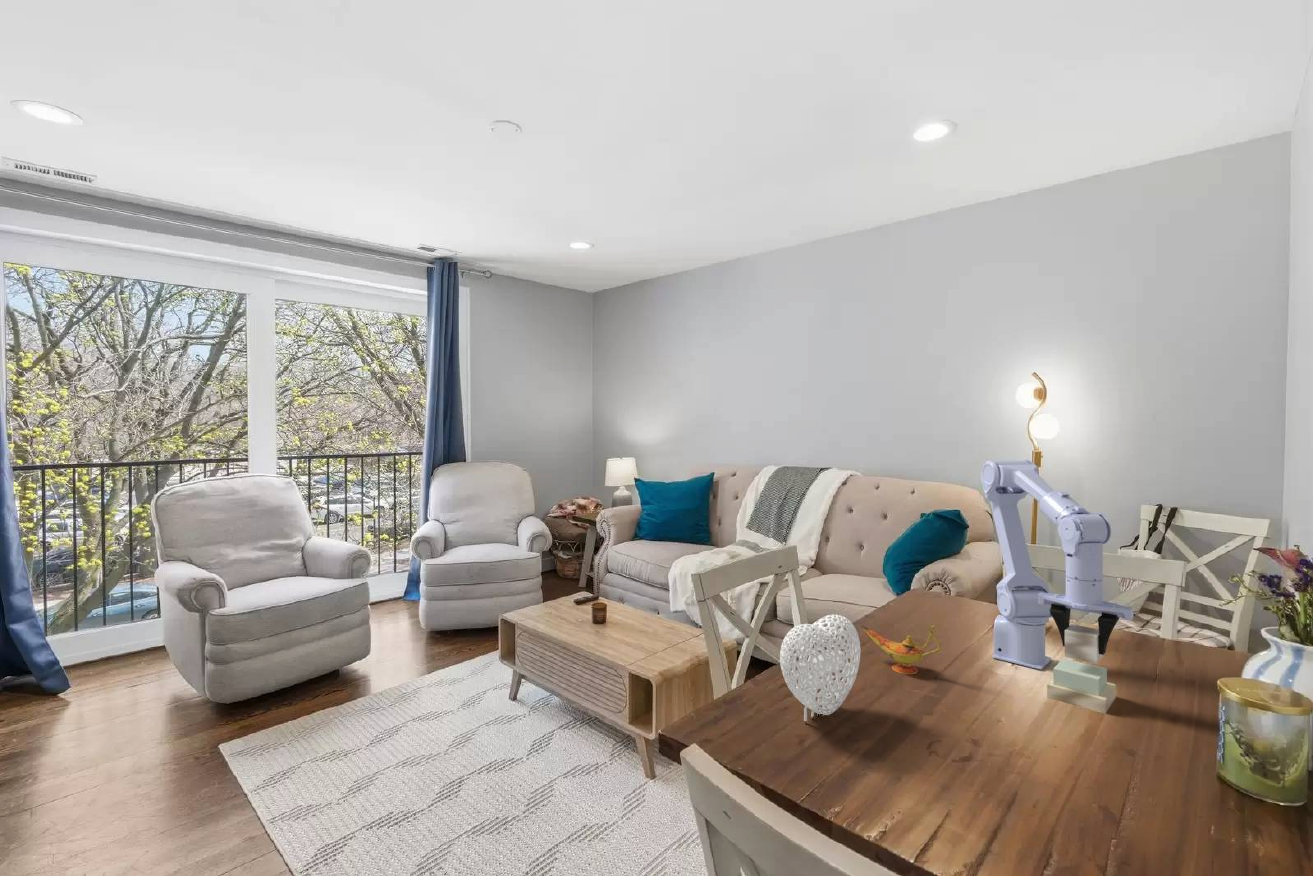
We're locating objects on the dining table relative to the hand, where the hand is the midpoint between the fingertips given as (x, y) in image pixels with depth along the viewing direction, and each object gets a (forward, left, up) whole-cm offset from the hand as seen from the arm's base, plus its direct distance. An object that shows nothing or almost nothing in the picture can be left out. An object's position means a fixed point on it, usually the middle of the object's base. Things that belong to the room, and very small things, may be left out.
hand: (1083, 649), depth 113 cm
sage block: (-1, 0, -7) cm, 7 cm away
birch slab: (0, 0, -10) cm, 10 cm away
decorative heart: (-31, -41, -9) cm, 52 cm away
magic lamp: (-31, -11, -9) cm, 34 cm away
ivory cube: (0, 0, -1) cm, 1 cm away
